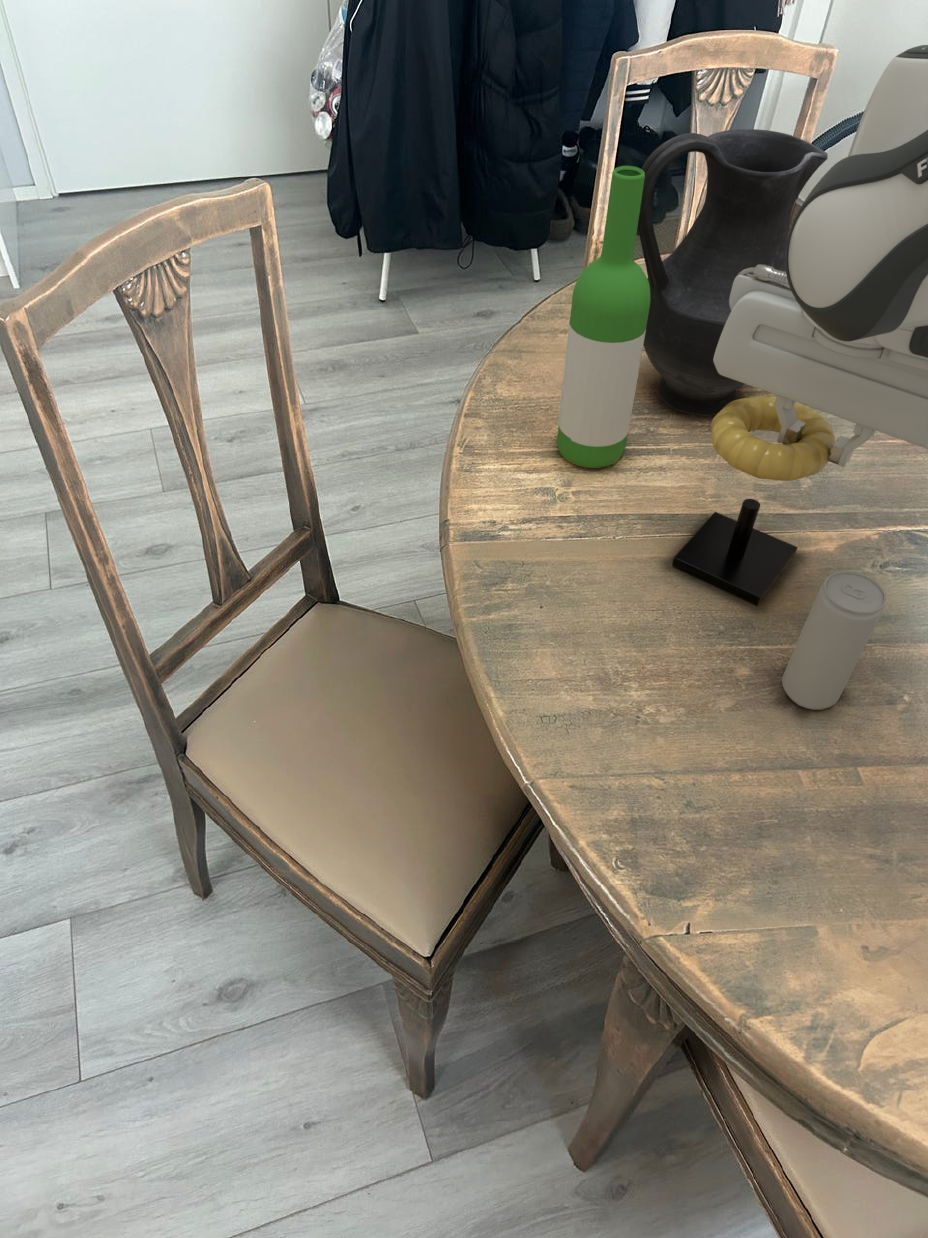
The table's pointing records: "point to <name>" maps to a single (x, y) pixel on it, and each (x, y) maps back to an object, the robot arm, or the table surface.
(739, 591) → the post
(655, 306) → the pitcher
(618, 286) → the bottle
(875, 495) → the table surface
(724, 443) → the ring doughnut
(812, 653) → the beverage can
